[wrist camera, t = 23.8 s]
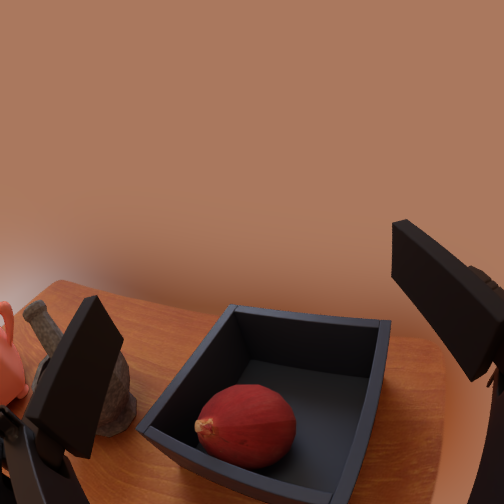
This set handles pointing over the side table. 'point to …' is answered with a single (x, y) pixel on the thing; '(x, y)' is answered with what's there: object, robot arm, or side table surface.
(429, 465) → the side table surface
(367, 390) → the dark blue open box
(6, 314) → the teapot
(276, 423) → the onion
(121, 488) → the side table surface
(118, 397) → the mortar and pestle
